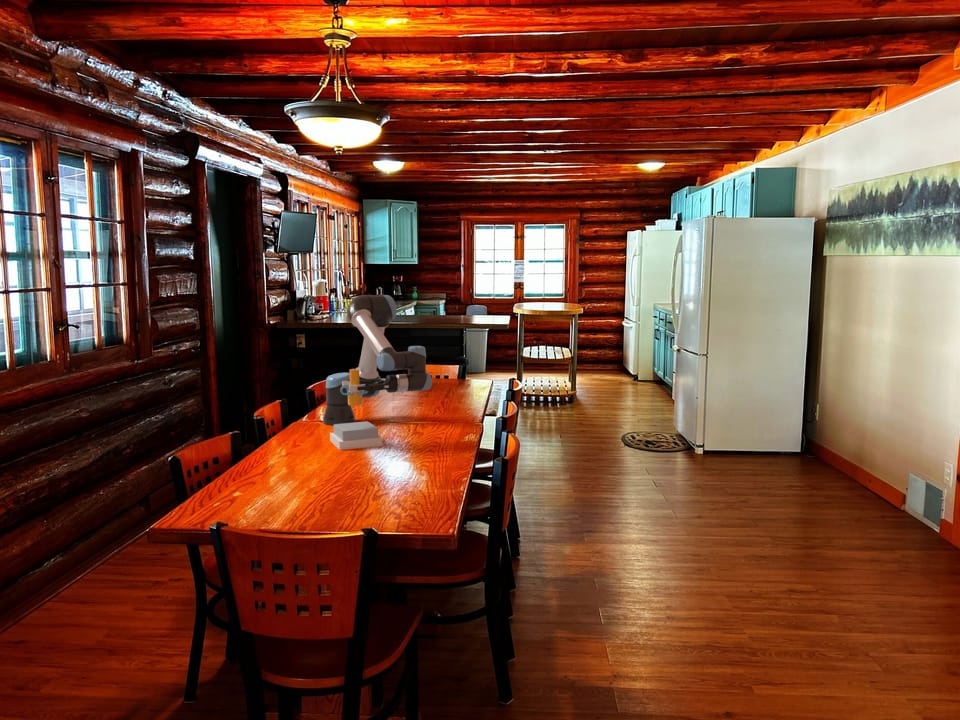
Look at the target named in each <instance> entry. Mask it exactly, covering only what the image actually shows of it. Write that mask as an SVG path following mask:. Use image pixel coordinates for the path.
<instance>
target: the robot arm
mask: <svg viewBox="0 0 960 720" xmlns="http://www.w3.org/2000/svg"><path fill="white" fill-rule="evenodd" d="M397 313H398V311H397V304H396V302H395V300H394V298H393V297H392V296H391V295H388V294H374V295H373V294H372V295H371V294H368V295H367V294H366V295H364V294H361V295H359V296H356V297H353V298H352V300H351V301H350V302H349V305H348V307H347V317H348V319H349V321H350V323H351V324H352V326H353V327H354V328H355V327H356V328H357V329H358V330H359V332H360V333H361V334H362V336H363V342H362V347H361V348H362V349H361V355H360V358H359V363H358V367H356V368H355V369H359V380H360V385H349V389H348V390H349V392H359V391H364V392H366V391H368V393H366V394H363V395H362V399H364V398H366V399H369V398H373V397H375V396H377V395H379V393H380V391H385V390H386V392H387V393H389V394H390V393H396V392H397V393H401V394H403V393H404V392H420V391H427V390H430V389H431V387H432V386H433V381H432V375H431V373H430V372H429V373H428V372H427V366H426V365H427V364H426V363H427V351H426V347H425V346H422V345H410V346H408V348H407V351H396V350H395V349H394V347H393V346H392V344H391V343H390V342H389V340H388V339H387V338H386V336H385V335H384V334H385V329H386V328H388V327H389V325H390V321H392V320H394V319H395V318H396V316H397ZM377 369H379V370H380V371H381V372H391V371H392V372H393V371H398V370H399V371H401V370H408V373H402V374H401V373H399V374H388V375H386V377H385V380H384V379H382V378H381V376H380V375H379V372H378V371H377ZM349 383H350V372H338V373H333V374H331V375H328V376H327V377H326V379H325V398H326V399H325V400H326V401H325V402H326V406H325V407H326V408H325V411H324V414H323V419H322V423H323V424H324V425H329V426H334V424H344V423H355V422H356V416H355V414H354V410H353V406H350V405H348V395H343V394H342V393H341V391H340V389H341V387H342V386H343V385H347V384H349ZM362 384H363V385H362ZM342 391H343V393H347V390H346V387H344V388H343V389H342ZM361 394H362V393H361Z"/></svg>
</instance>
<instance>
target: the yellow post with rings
mask: <svg viewBox="0 0 960 720" xmlns="http://www.w3.org/2000/svg"><path fill="white" fill-rule="evenodd" d="M349 373H350V383H349V384H347V385H343V386H342V387H341V389H340V391H341V393H342V394H343V395H348V405H350V406H351V407H357V406H358V407H359V406H362V405H363V398H362V395H363V394H366V393H368V391H366V392H364V391H359V392H349V390H348V389H349V385H360V380H359V369H356V368H351V369H349ZM362 385H363V384H362ZM344 387H346V390H347V393H343V391H342V389H343V388H344ZM361 393H362V394H361Z"/></svg>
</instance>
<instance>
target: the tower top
mask: <svg viewBox="0 0 960 720" xmlns="http://www.w3.org/2000/svg"><path fill="white" fill-rule="evenodd" d="M333 433H334V434H335V435H336V436H337V437H339V438H340V439H341V440H342V441H348V440H358V439H367V438H377V437H378V435H379V428H378V427H377V426H375V425H374V424H373V423H371V422H369V421H359V422H358V421H355V422H354V423H344V424H334V425H333Z"/></svg>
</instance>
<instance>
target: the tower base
mask: <svg viewBox="0 0 960 720" xmlns="http://www.w3.org/2000/svg"><path fill="white" fill-rule="evenodd" d="M329 440H330V442H331V443H332V444H333V445H334V446H335V447H336V448H337V449H338V450H340V451H342V450H352V449H363V448H365V449H366V448H374V447H381V446H382V447H383V437H382V436H380V435H379V434H378V437H377V438H367V439H358V440H348V441H342V440H341V439H340V438H339V437H337V436H336V435H335V434H334V432H329Z"/></svg>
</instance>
